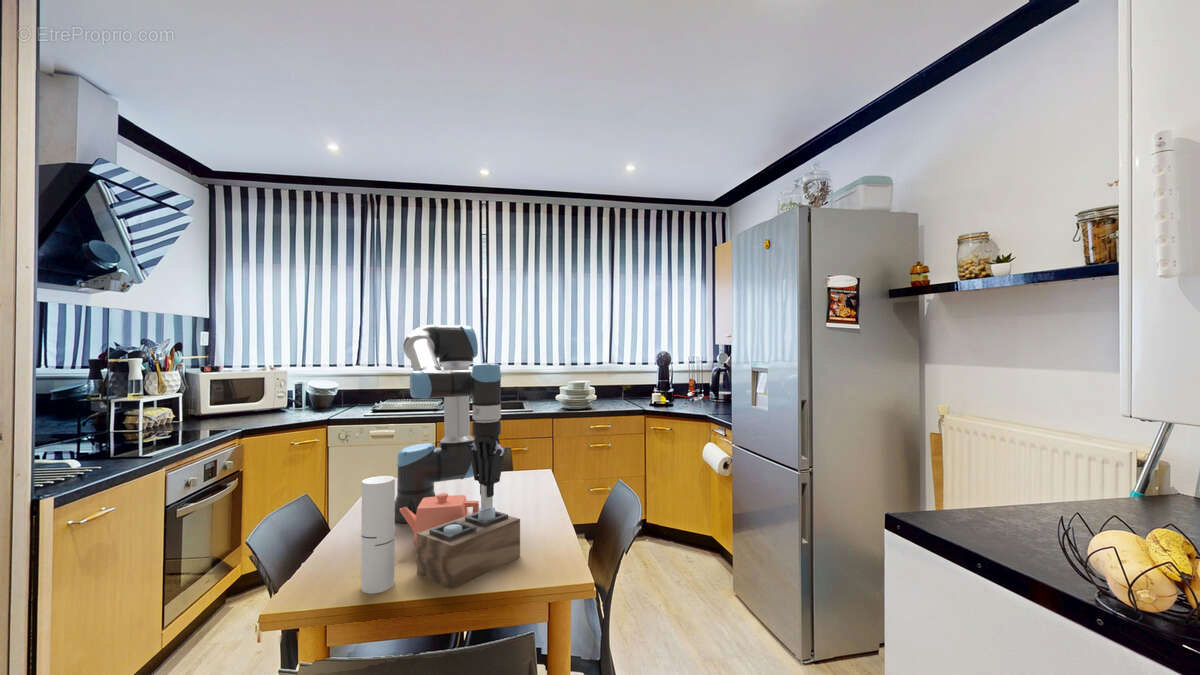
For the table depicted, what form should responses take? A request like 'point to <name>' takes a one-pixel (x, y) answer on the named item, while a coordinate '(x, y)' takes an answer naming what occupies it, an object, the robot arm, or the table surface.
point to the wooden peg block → (467, 549)
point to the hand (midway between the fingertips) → (486, 508)
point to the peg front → (452, 528)
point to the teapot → (437, 512)
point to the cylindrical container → (378, 534)
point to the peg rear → (486, 514)
